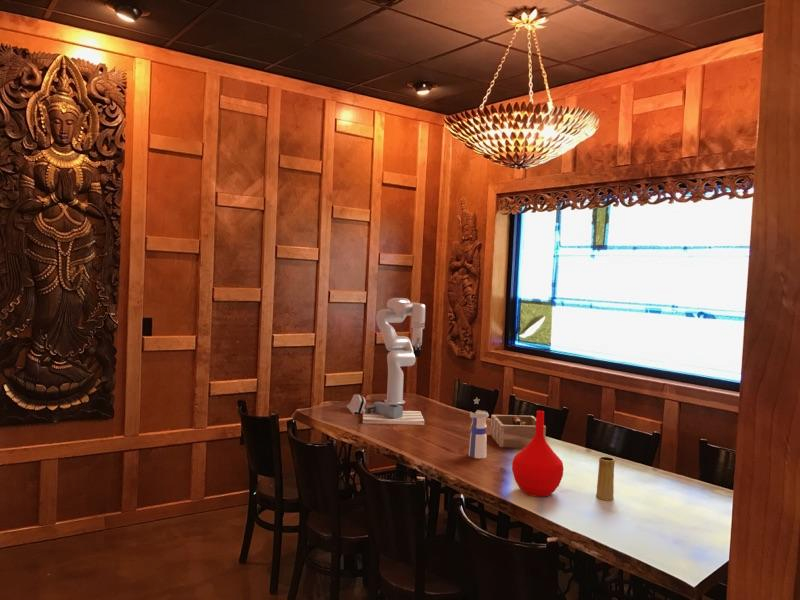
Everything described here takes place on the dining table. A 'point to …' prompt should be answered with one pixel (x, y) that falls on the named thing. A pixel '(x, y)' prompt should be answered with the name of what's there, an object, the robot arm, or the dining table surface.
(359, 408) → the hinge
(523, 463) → the vase
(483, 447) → the water bottle
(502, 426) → the box
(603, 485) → the vase
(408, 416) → the board
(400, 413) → the link
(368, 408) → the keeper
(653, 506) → the dining table surface
